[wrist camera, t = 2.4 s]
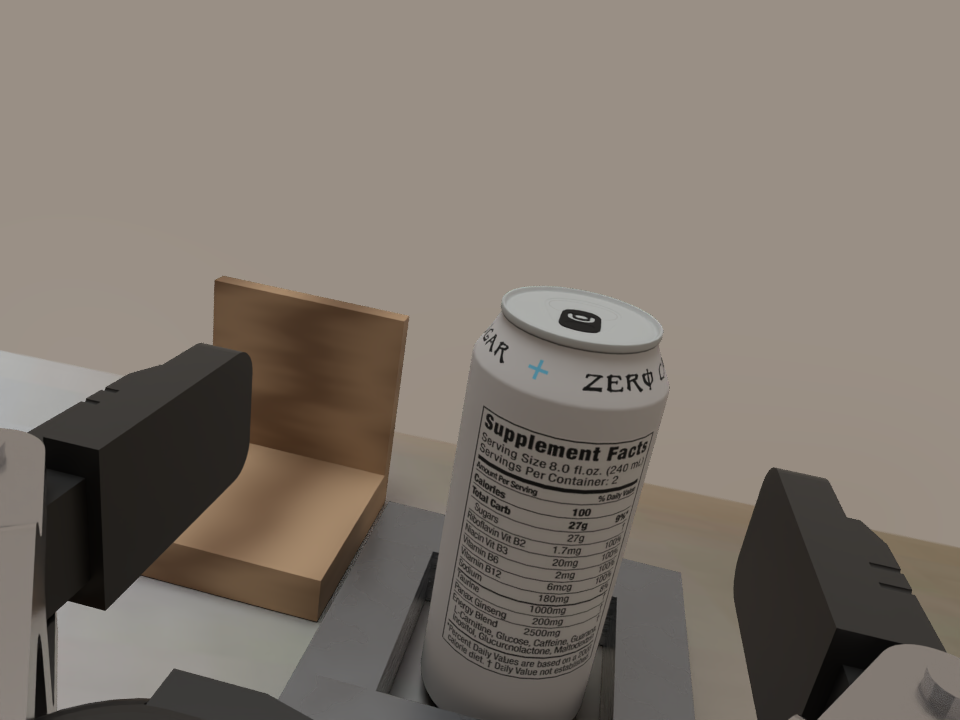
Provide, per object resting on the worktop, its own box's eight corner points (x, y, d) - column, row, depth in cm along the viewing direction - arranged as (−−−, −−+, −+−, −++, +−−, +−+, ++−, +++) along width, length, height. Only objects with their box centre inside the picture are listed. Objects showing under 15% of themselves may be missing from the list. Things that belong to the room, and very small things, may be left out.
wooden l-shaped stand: (107, 565, 31) (99, 339, 27) (217, 460, 39) (223, 275, 35) (317, 621, 30) (338, 394, 26) (385, 501, 38) (409, 315, 34)
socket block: (253, 796, 23) (257, 736, 22) (383, 547, 35) (389, 501, 34) (684, 924, 22) (708, 866, 21) (666, 618, 33) (680, 572, 33)
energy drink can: (583, 654, 31) (679, 304, 25) (571, 784, 25) (691, 372, 19) (439, 616, 31) (499, 267, 26) (397, 734, 26) (462, 322, 20)
